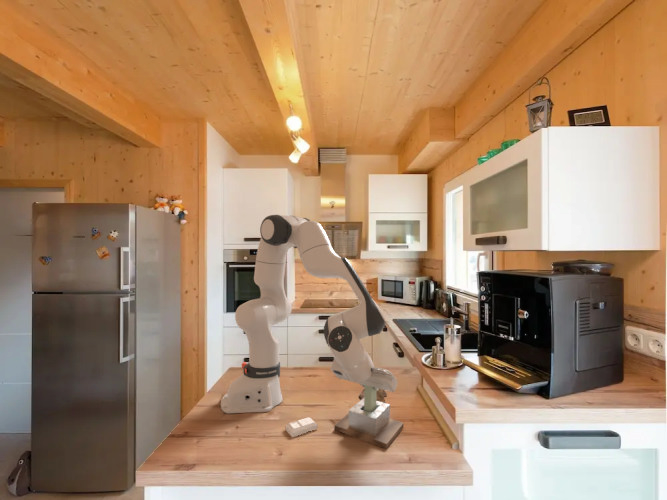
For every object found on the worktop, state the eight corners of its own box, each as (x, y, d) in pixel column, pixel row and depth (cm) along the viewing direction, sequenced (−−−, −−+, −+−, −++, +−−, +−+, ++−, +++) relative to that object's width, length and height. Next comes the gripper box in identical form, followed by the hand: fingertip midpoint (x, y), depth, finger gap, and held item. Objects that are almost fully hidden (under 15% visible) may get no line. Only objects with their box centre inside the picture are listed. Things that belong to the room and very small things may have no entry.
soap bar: (317, 430, 108) (317, 422, 108) (292, 438, 103) (292, 430, 103) (310, 423, 112) (310, 415, 112) (285, 431, 107) (285, 422, 107)
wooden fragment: (387, 413, 120) (387, 410, 120) (357, 410, 121) (357, 407, 121) (386, 384, 145) (386, 381, 145) (360, 382, 147) (360, 379, 147)
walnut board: (403, 427, 110) (403, 422, 110) (386, 448, 98) (386, 443, 98) (355, 411, 120) (355, 407, 120) (334, 429, 108) (334, 425, 108)
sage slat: (376, 408, 110) (376, 372, 110) (370, 413, 106) (371, 376, 106) (369, 406, 111) (370, 370, 111) (364, 411, 108) (364, 374, 108)
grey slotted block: (389, 421, 111) (389, 404, 111) (375, 436, 102) (375, 418, 102) (364, 412, 116) (364, 397, 116) (348, 427, 107) (348, 410, 107)
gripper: (393, 363, 97) (404, 385, 106) (333, 350, 108) (347, 371, 116) (387, 383, 93) (399, 404, 102) (325, 368, 104) (341, 388, 113)
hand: (371, 386), depth 109 cm, fingers closed on sage slat, 2 cm apart
